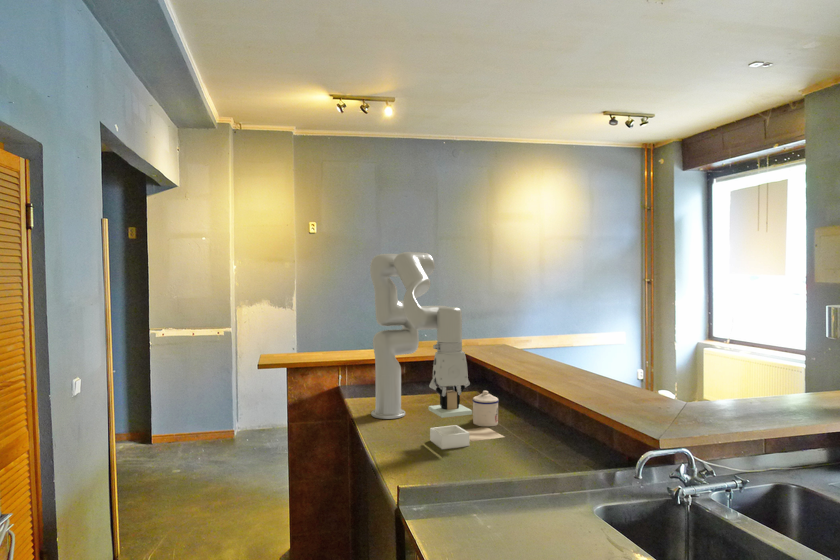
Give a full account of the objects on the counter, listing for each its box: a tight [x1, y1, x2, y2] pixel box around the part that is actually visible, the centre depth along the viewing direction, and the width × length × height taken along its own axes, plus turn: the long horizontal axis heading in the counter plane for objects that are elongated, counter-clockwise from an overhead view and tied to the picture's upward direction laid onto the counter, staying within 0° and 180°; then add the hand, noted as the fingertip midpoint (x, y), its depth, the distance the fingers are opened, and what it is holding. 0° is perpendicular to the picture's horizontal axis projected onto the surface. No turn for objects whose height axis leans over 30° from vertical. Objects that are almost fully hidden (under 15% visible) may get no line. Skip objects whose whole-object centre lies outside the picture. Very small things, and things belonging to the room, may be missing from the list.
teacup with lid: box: [472, 390, 499, 427], centre depth 181 cm, size 12×9×12 cm
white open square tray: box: [429, 424, 470, 450], centre depth 157 cm, size 9×9×4 cm
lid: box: [428, 389, 473, 419], centre depth 157 cm, size 10×10×6 cm
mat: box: [464, 426, 505, 442], centre depth 166 cm, size 12×12×1 cm
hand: (449, 407), depth 157 cm, fingers closed on lid, 3 cm apart
